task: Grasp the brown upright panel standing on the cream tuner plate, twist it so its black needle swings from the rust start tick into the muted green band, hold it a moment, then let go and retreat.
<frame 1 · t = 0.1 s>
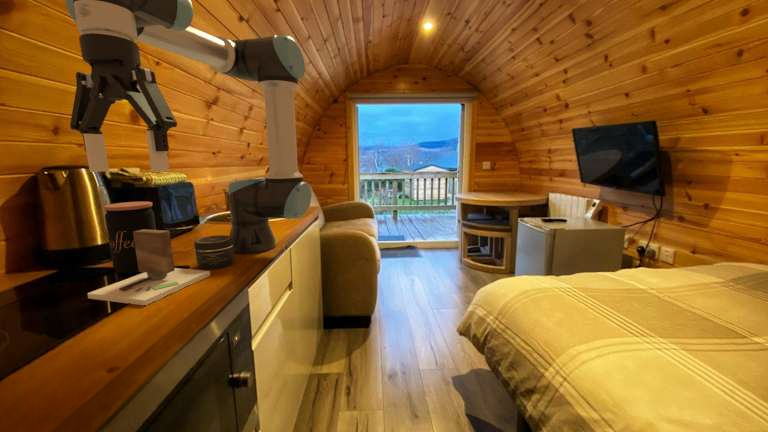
hand: (129, 171, 57), 28 cm above the counter, fingers open, 13 cm apart
tuner plate: (154, 286, 80), on the counter
brown upright panel: (140, 258, 77), point 7 cm above the counter, hinge at 0.0°
coffee jar: (138, 268, 93), on the counter
jar: (216, 265, 95), on the counter
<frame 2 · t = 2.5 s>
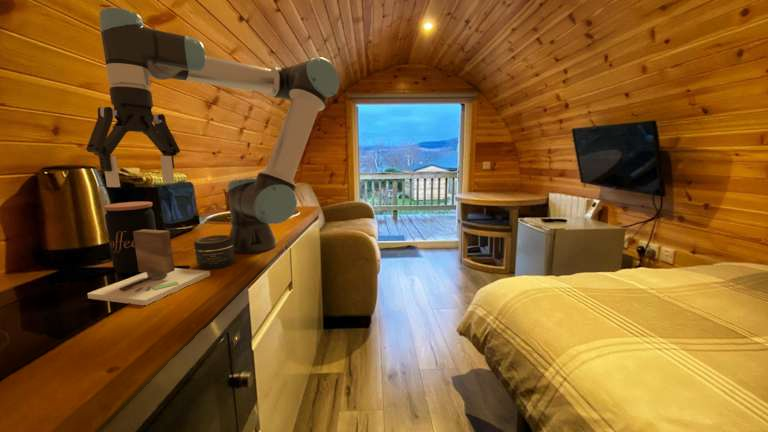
hand: (143, 184, 77), 24 cm above the counter, fingers open, 13 cm apart
nothing on the counter moved.
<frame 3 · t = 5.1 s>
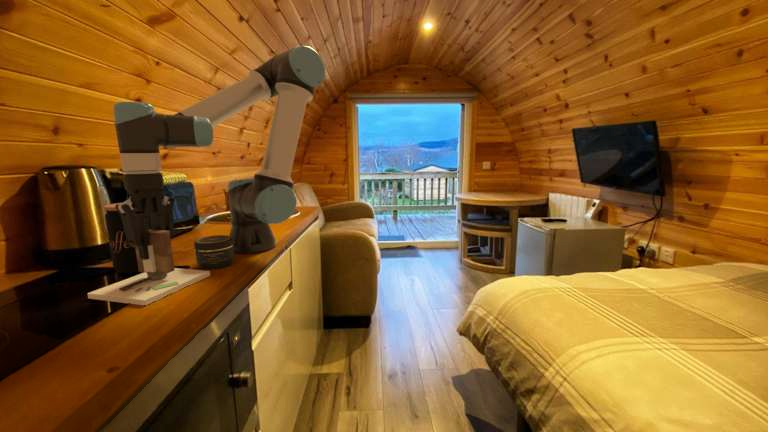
hand: (156, 268, 81), 4 cm above the counter, fingers closed on brown upright panel, 3 cm apart
brown upright panel: (140, 258, 77), point 7 cm above the counter, hinge at 0.0°, touching gripper
everything else where it was.
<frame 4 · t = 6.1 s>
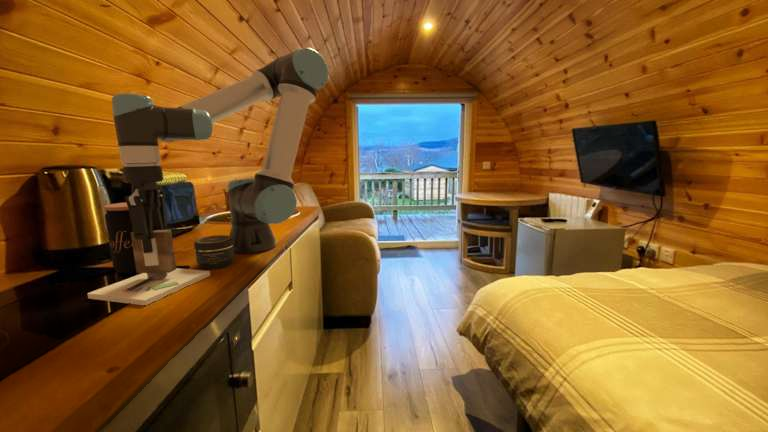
hand: (156, 262, 81), 5 cm above the counter, fingers closed on brown upright panel, 3 cm apart
brown upright panel: (143, 258, 77), point 7 cm above the counter, hinge at 13.3°, touching gripper
everything else where it was.
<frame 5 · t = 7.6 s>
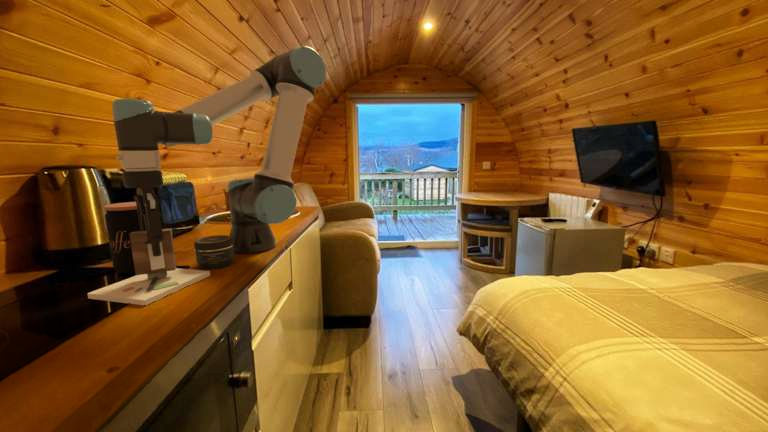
hand: (156, 266, 81), 4 cm above the counter, fingers closed on brown upright panel, 4 cm apart
brown upright panel: (151, 258, 77), point 7 cm above the counter, hinge at 40.0°, touching gripper
everything else where it was.
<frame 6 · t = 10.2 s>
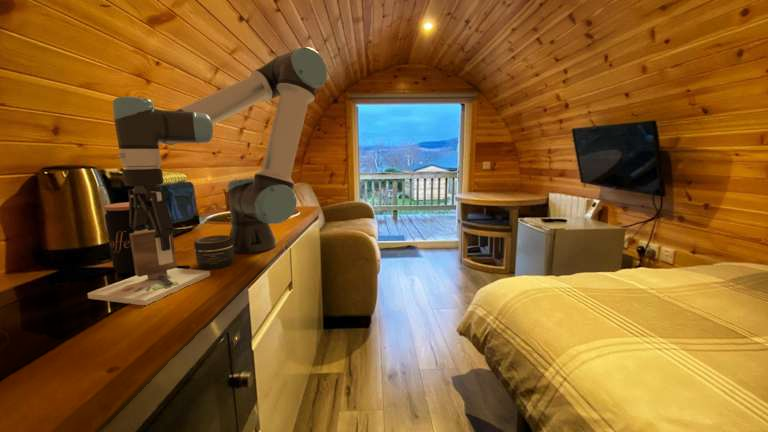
hand: (155, 259, 81), 6 cm above the counter, fingers open, 11 cm apart
brown upright panel: (159, 257, 78), point 7 cm above the counter, hinge at 64.7°
everything else where it was.
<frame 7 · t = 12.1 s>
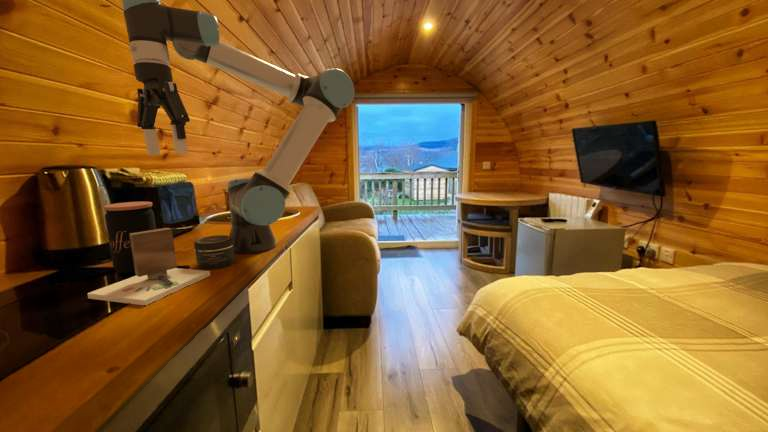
hand: (167, 154, 84), 31 cm above the counter, fingers open, 13 cm apart
nothing on the counter moved.
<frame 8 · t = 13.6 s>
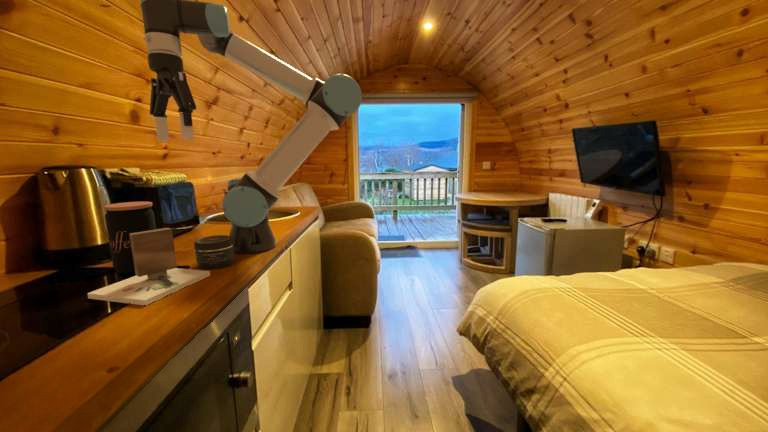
hand: (175, 140, 89), 35 cm above the counter, fingers open, 13 cm apart
nothing on the counter moved.
at the end: brown upright panel at +65° (first picture: +0°); the gripper is holding nothing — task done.
